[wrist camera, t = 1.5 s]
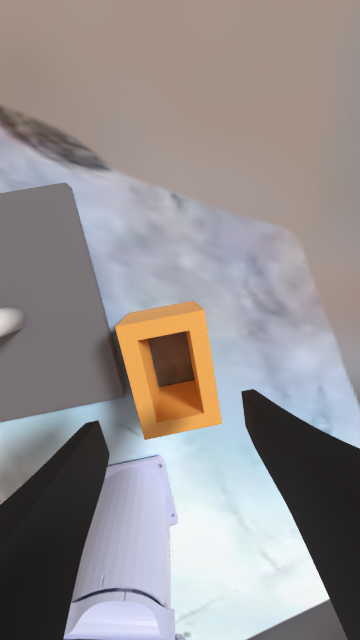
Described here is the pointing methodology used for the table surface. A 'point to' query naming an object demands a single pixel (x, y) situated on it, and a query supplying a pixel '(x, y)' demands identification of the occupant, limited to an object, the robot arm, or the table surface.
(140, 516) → the robot arm
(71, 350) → the hook board
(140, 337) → the orange link
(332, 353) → the table surface
